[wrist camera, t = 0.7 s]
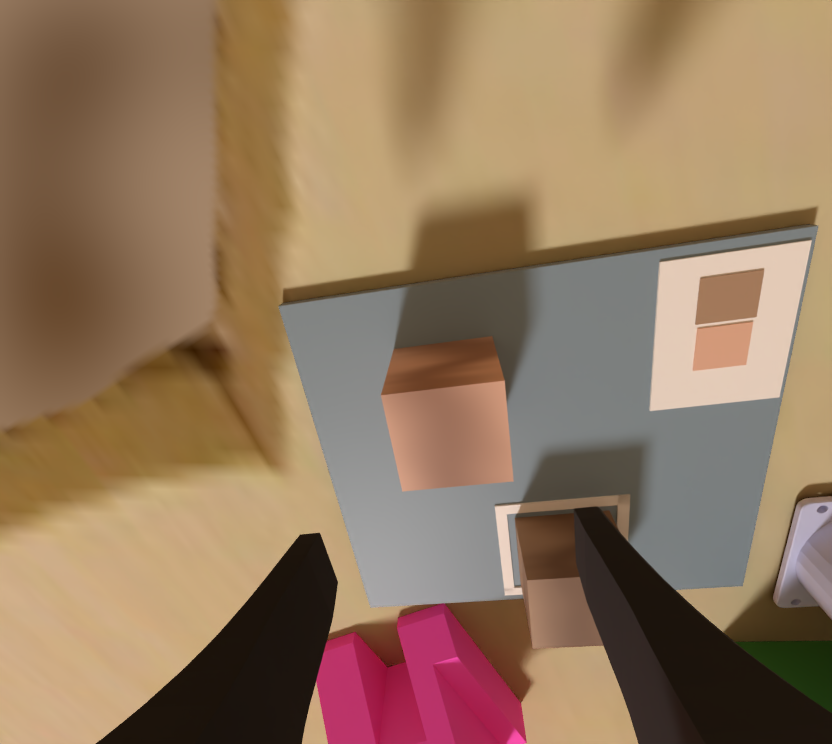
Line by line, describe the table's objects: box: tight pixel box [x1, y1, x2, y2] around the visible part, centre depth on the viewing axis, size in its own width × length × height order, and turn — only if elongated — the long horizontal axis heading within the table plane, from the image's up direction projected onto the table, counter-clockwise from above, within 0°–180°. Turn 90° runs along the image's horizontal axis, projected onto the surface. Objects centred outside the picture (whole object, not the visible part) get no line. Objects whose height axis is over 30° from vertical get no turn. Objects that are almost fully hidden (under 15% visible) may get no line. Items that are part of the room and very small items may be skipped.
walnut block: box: [515, 510, 620, 649], centre depth 23 cm, size 5×5×4 cm
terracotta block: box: [381, 336, 514, 492], centre depth 19 cm, size 4×4×4 cm
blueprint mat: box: [279, 224, 818, 608], centre depth 22 cm, size 22×20×1 cm
